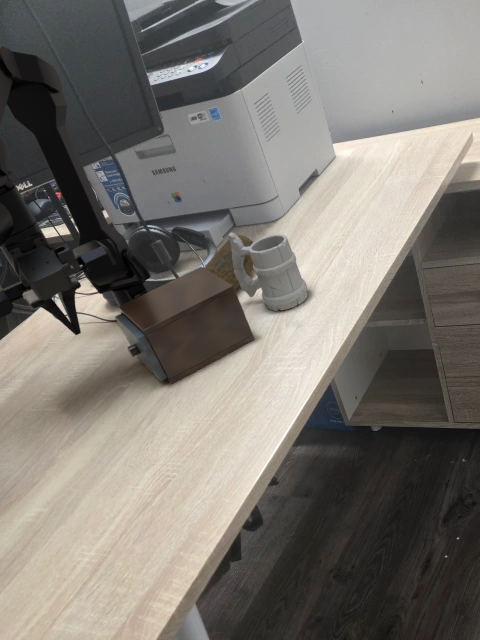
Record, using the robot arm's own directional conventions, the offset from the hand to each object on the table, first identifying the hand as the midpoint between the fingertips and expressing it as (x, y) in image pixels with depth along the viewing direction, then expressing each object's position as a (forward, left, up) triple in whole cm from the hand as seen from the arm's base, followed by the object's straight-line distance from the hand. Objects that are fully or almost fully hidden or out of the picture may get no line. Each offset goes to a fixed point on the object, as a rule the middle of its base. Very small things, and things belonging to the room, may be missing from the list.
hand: (77, 333), depth 96 cm
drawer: (+7, +11, -8) cm, 15 cm away
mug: (+9, +29, -9) cm, 32 cm away
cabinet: (+7, +13, -9) cm, 18 cm away
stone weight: (-5, +31, -9) cm, 33 cm away
